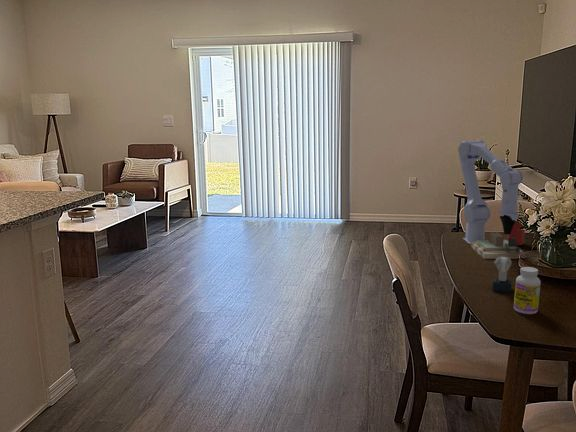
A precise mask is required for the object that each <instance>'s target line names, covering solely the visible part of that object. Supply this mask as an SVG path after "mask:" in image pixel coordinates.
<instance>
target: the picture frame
mask: <svg viewBox="0 0 576 432" xmlns="http://www.w3.org/2000/svg"><path fill="white" fill-rule="evenodd" d="M505 240H506V241H508V240H507V239H505ZM508 242H509V241H508ZM470 247H471V248H472V250H474V251H475V252H476V253H477V254H478V255H479V256H480V257H481V258H483V259H484V260H485V259H486V260H487V259H490V260H491V259H493V260H494V259H495V260H496V259H497V258H499V257H507V258H509V259H510V260H511V259H513V260H514V259H517V260H519V259H518V257H519V255H520V254H522V253H525V251H524V250H521V247H518V246H516V249H510V248H509V247H506V249H485V248H483V247H482V246H481V245H480V244H479V243H478V242H477V240H474V241H473V242H471V244H470Z"/></svg>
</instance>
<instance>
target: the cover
mask: <svg viewBox="0 0 576 432" xmlns="http://www.w3.org/2000/svg"><path fill="white" fill-rule="evenodd" d="M506 240H507V239H505V238H504V236H503V235H502V234H501V233H499V232H498V231H489V239H484V240H477V242H478V243H479V244H480V245H481V246H482V247H483V248H485V249H506V246H505V243H508V241H506Z"/></svg>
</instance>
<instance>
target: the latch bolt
mask: <svg viewBox="0 0 576 432" xmlns="http://www.w3.org/2000/svg"><path fill="white" fill-rule="evenodd" d="M505 246H506V247H509V248H510V249H516V247H517V245H516V238H509V242H508V243H505Z"/></svg>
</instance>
